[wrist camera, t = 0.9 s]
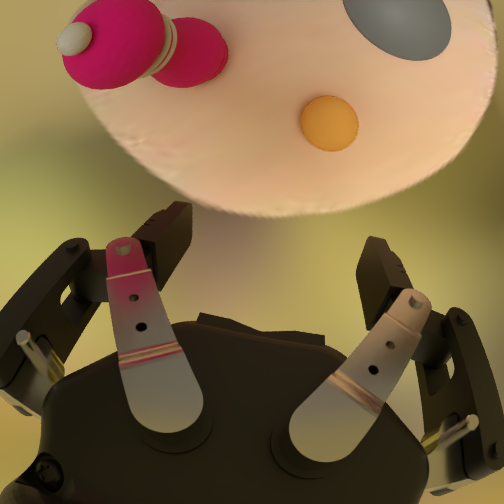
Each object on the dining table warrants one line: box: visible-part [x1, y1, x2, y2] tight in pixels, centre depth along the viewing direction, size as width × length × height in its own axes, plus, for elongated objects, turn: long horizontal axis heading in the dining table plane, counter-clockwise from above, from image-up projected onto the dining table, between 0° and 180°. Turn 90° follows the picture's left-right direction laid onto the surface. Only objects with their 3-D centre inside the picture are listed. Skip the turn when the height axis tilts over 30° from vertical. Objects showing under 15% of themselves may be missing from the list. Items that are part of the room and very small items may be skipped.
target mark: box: [343, 0, 451, 60], centre depth 16 cm, size 13×13×1 cm
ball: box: [301, 96, 359, 152], centre depth 23 cm, size 6×6×6 cm
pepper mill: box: [56, 0, 228, 90], centre depth 15 cm, size 7×7×20 cm
